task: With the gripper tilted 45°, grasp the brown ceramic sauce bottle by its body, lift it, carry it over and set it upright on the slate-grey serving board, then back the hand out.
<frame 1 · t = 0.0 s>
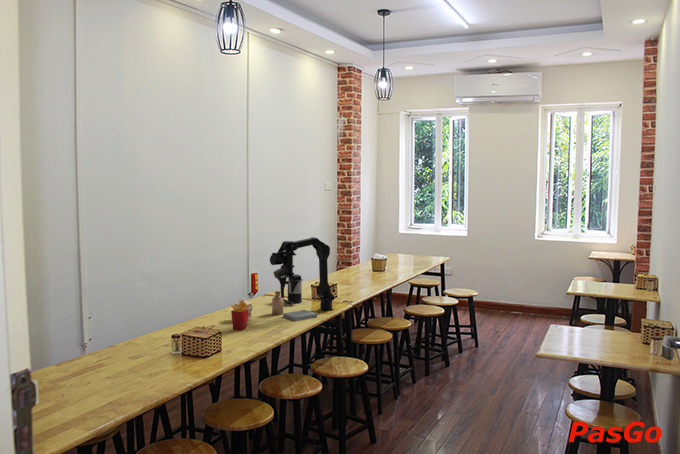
hand: (287, 291, 309), 15 cm above the table, tool pointing down, fingers open, 9 cm apart
milk frother: (292, 303, 345), on the table
french fries: (242, 329, 282), on the table
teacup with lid: (244, 319, 304), on the table
serving board: (300, 316, 310), on the table
sauce bottle: (277, 313, 317), on the table
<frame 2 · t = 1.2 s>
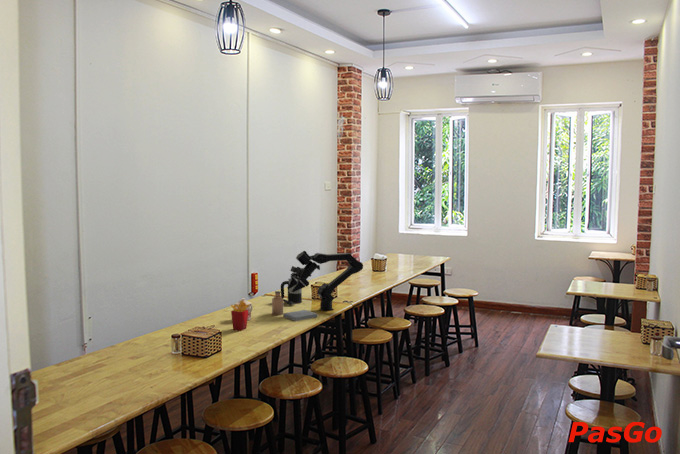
hand: (290, 290, 318), 13 cm above the table, tool tilted 45°, fingers open, 9 cm apart
nothing on the table moved.
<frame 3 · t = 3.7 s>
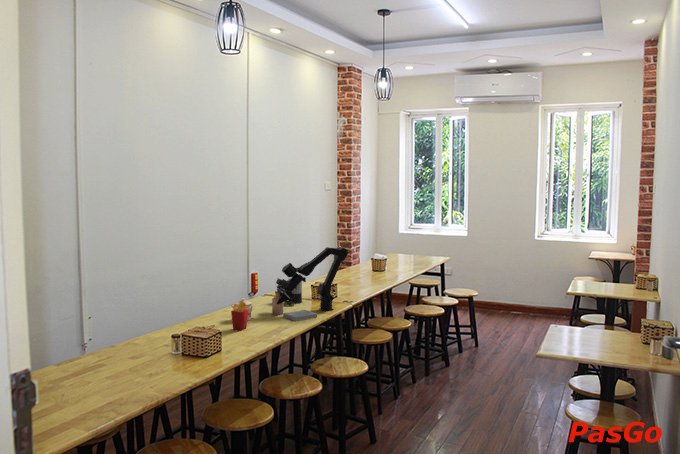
hand: (275, 302, 316), 7 cm above the table, tool tilted 45°, fingers closed on sauce bottle, 6 cm apart
sauce bottle: (277, 313, 317), on the table, touching gripper
everything else where it was.
when the fingers open (10 cm above the table, at t = 7.7 s): sauce bottle drops 1 cm, resting on serving board.
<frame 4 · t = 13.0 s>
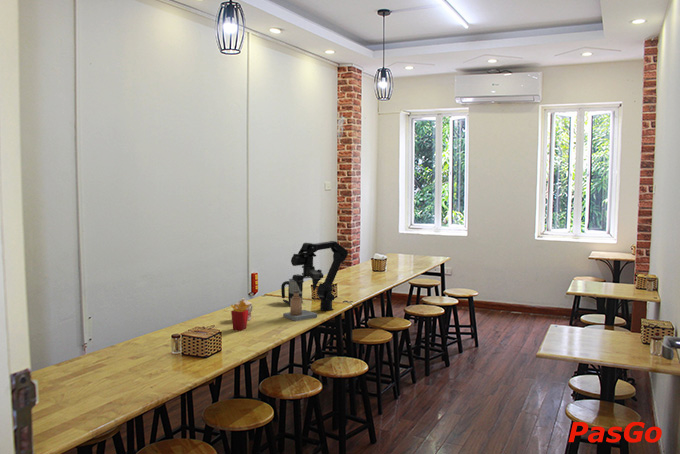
hand: (307, 291, 318), 13 cm above the table, tool pointing down, fingers open, 9 cm apart
sauce bottle: (296, 314, 308), point 2 cm above the table, touching serving board
at the end: sauce bottle inside the target area on the serving board (0.9 cm from its centre), point 2.0 cm above the serving board's base; sauce bottle tilted 0°; the gripper is holding nothing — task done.
